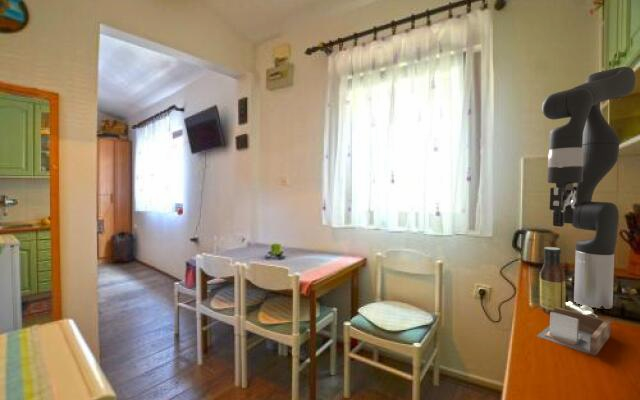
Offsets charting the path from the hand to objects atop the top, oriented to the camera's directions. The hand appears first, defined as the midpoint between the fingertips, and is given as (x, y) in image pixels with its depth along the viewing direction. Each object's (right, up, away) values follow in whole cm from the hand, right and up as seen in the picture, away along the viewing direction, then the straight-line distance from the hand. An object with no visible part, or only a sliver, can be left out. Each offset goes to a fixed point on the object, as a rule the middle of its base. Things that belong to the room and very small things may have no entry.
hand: (563, 224), depth 84 cm
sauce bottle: (+4, -28, +9) cm, 29 cm away
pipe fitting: (+10, -28, +4) cm, 30 cm away
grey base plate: (-3, -28, -6) cm, 29 cm away
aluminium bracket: (-5, -28, -7) cm, 29 cm away
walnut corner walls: (-3, -28, -6) cm, 29 cm away
